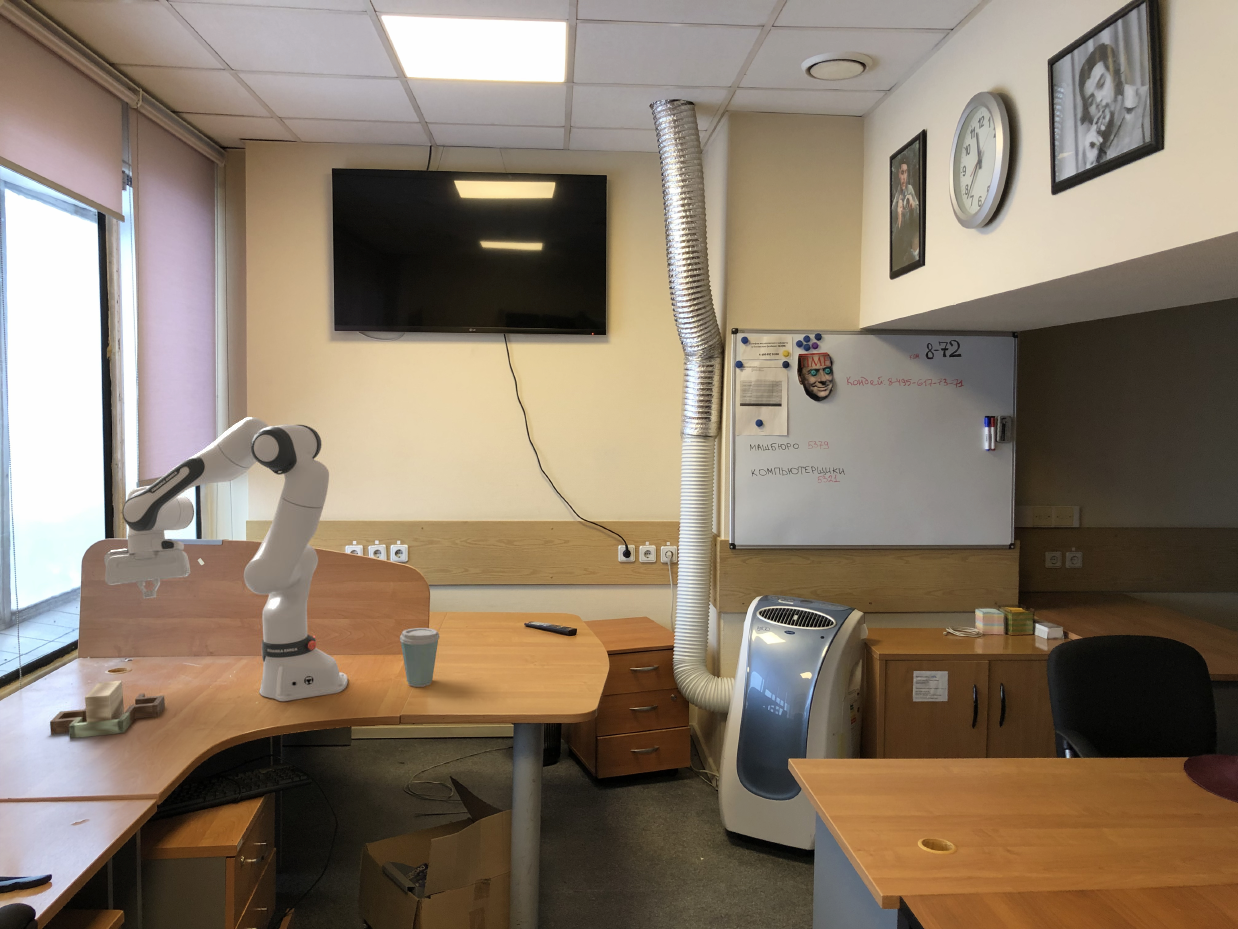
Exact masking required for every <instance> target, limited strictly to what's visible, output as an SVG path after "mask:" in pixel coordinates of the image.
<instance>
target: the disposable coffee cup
mask: <svg viewBox="0 0 1238 929" xmlns="http://www.w3.org/2000/svg"><path fill="white" fill-rule="evenodd" d="M439 639H440V633H439V632H438V631H437V630H436V629H434V628H428V627H416V628H408V629H404V630H403V631H402V632H401V634H400V636H399V641H400V645H401V650H402V658H403V664H404V669H405V670H404V671H405V676H406V677H405V678H406V682H407V683H408V685H409V686H411V687H415V688H423V687H427V686H429V685H431V683H432V681H433V678H434V671H435V665H436V658H437V652H438V651H437V650H438V644H439Z"/></svg>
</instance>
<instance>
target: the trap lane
mask: <svg viewBox="0 0 1238 929" xmlns="http://www.w3.org/2000/svg"><path fill="white" fill-rule="evenodd" d="M165 701H166V700H165V695H164V694H163V695H151V696H146V693H143V692H142V693H139V694H138V695H137V697H136V698H135V699H134V702H135V703H134V704H132V705H131V704H130V705H129V706H128V707H127V708H126V710H124V714H123V715H122V716H121V717H120V719H116V720H106V721H95V722H87V718H86V707H85V708H84V709H75V710H74V709H73V710H62V711H59V712H58V713H57V714H56V715H55V716H54V717H53V718H52V719H51V720H50V722H49V726H50V735H55V734H64V733H69V734H68V735H69V739H73V738H74V739H75V738H84V737H85V738H86V737H94V736H95V737H96V736H104V735H116V734H124V733H125V732H126V731H127V729H128V728H129V726H131V724H132V723H133V722H134V720H135V719H141V718H142V719H143V718H153V717H159V715H160V714H161V713H162V712H163V710H164V709H165V704H166V703H165Z"/></svg>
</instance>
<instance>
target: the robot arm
mask: <svg viewBox="0 0 1238 929" xmlns="http://www.w3.org/2000/svg"><path fill="white" fill-rule="evenodd" d="M321 439H322V438H321V436H320V434H319V433H318V432H317V430H315V429H314V428H312V427H311V426H308V425H305V424H288V423H287V424H286V423H285V424H279V425H275V426H273V425H272V426H269V425H268V424H267V423H266V422H265V421H264V420H262V419H260V418H258V417H253V416H250V417H245V418H244V419H241V420H240V421H239V422H237V423H235V424H234V425H232V426H231V427H230V428H228V429H227V430H226V431H225V432H223V433H222V434H221V435H220V436H219V437H217V439H215V441H213V442H212V443H210V444H209V445H208V446H207V447H205V448H204V449H202V450H201V451H199V452H198V453H196V454H194V455H192V456H191V457H189V458H187V459H185V460H183V461H182V462H180V463H179V464H177V465H176V466H174V467H173V468H172V469H170V470H169V471H168V472H166V473H165V474H164V475H163V476H161V477H160V478H159V479H157V480H156V481H155V482H154V483H152V484H151V485H147V486H146V485H145V486H140V487H136V488H133V489H132V490H131V491H129V492H128V495H127V499H126V501H125V502H124V505H123V508H122V513H121V514H122V518H123V520H124V522H125V524H126V525H127V526H128V532H127V548H122V549H121V548H120V549H113V550H110V551H109V552H107V553H105V555H104V556H103V559H104V566H105V573H104V574H105V576H104V581H105V583H106V584H107V585H108V586H111V585H122V584H130V583H132V584H133V583H136V585H137V587H138V588H139V590H140V591H141V592H142V599H149V598H156V597H157V590H158V588H159V587H160V585H161V580H166V579H175V578H184V577H188V576H189V575H190V574H191V565H190V561H189V557H188V553H186V552H185V551H184V548H185V544H184V543H183V542H182V541H177V540H173V539H170V538H169V539H166V537H165V531H179V530H184V529H187V528H188V527H189V526H190V525H191V523H192V521H193V519H194V518H195V508H194V505H193V502H192V501H191V500H190V498H189V497H186V496H182V494H183V493H185V492H186V491H187V490H189V489H192V488H193V487H197V486H201V485H208V484H214V483H225V482H227V483H228V482H231V481H234V480H235V479H238V478H239V477H241V476H242V475H244V474H245V473H247V471H249V470H250V469H251V468H252V467H253V466H254V465H255V464H256V463H259V464H260V465H261V466H263V467H264V468H267V469H269V470H270V471H271V472H273V473H274V474H275V475H278V476H280V475H283V476H284V484H283V486H282V491H281V494H280V496H279V500H278V504H277V507H276V510H275V513H274V517H273V519H272V522H271V524H270V527H269V529H268V531H267V532H266V535H265V536H264V538H263V540H262V542H261V544H260V545H259V547H258V549H257V551H256V553H255V554H254V556H253V557H252V558H251V560H250V561H249V562H248V563H247V565H246V566H245V568H244V571H243V580H244V584H245V585H246V587H247V588H248V589H249V590H250V591H251V592H252V593H255V594H257V595H268V597H267V600H266V602H265V605H264V606H263V609H262V615H261V616H262V633H263V634H262V637H263V639H262V641H261V659H262V662H263V670H262V677H261V682H260V684H261V685H260V689H259V694H260V695H261V696H263V697H266V698H270V699H275V700H276V701H279V702H287V701H294V700H300V699H301V700H302V699H305V698H311V697H313V698H314V697H318V696H325V695H332V694H338V693H340V692H342V691H343V690H345V689H346V687H347V686H348V676H347V674H345V673H343V672H340V670H339V666H338V663H337V662H336V660H335V658H334V657H332V656H331V655H329V654H328V653H325V652H324V651H322V650H320V649H318V648H317V639H316V636H315V635H313V636H312V635H310V634H308V612H307V611H308V599H309V596H310V595H309V594H310V590H311V584H312V581H313V580H312V579H313V575H314V572H315V571H316V569H317V567H318V565H319V564H318V563H319V557H318V553H317V551H316V550H315V548H314V547H313V546H312V545H310V544H309V542H310V541H311V540H312V538H313V537H314V535H316V532H317V530H318V527H319V523H320V521H321V520H320V519H321V517H322V512H323V510H324V506H325V504H326V500H327V494H328V490H329V483H330V482H329V481H330V471H329V469H328V467H327V466H326V465H325V464H323V462H321V461H319V460H316V458H317V457H318V456H319V454H320V452H321V449H322V440H321ZM147 581H152V584H153V587H152V589H151V590H147V589H146V588H145V587H144V586H146V582H147Z"/></svg>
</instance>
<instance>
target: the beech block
mask: <svg viewBox="0 0 1238 929" xmlns="http://www.w3.org/2000/svg"><path fill="white" fill-rule="evenodd" d="M123 691H124V690H123V681H122V680H115V681H114V680H113V681H102V682H99V683H97V684H96V685H95V687H94V688H92V689H91V691H90V692H88V694H86V696H85V697H84V699H85V700H84V701H85V702H84V703H85V708H86V718H87V722H95V721H106V720H116V719H120V717H121V716H122V715H123V714H124V713H125V707H124V694H123V693H124V692H123Z"/></svg>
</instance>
